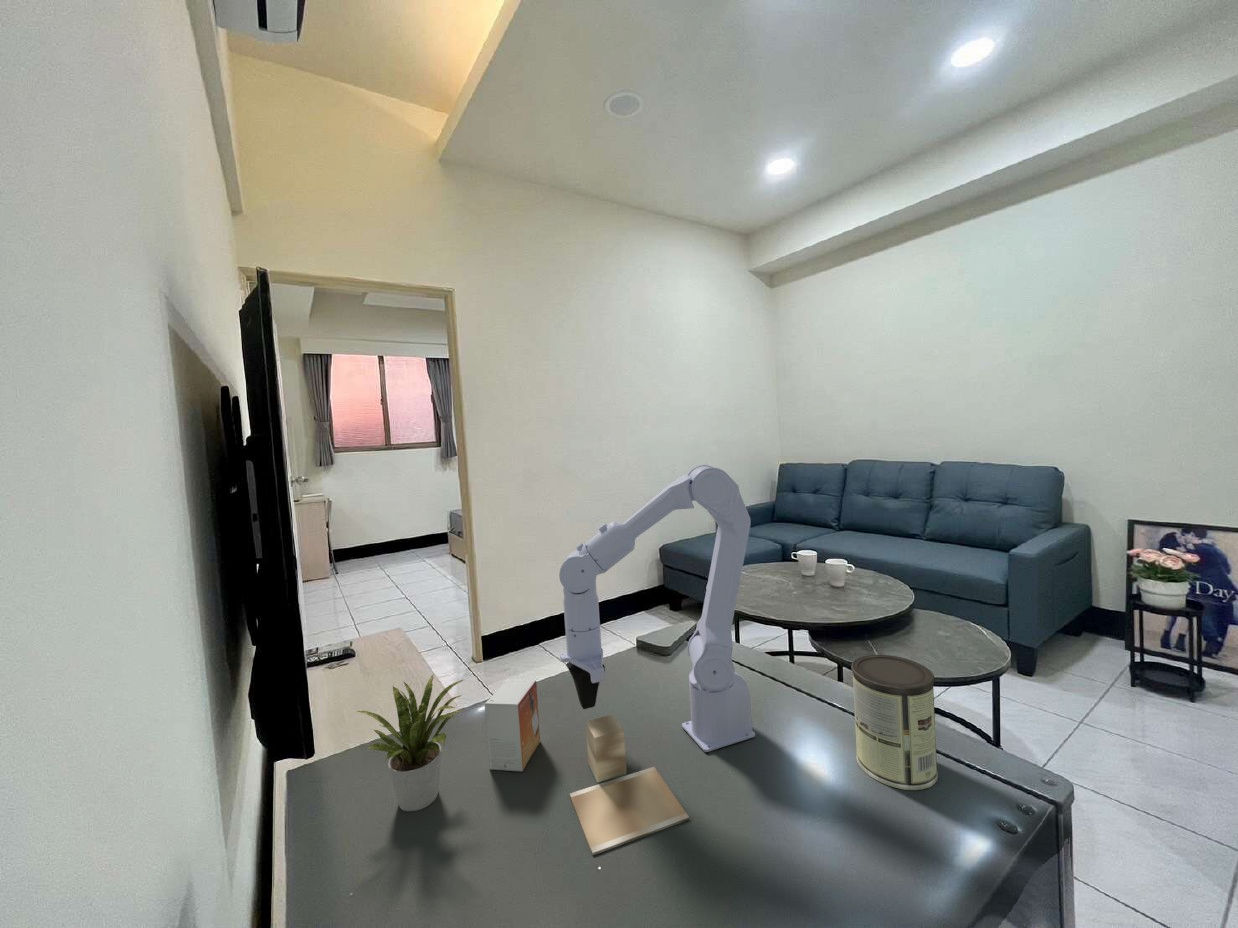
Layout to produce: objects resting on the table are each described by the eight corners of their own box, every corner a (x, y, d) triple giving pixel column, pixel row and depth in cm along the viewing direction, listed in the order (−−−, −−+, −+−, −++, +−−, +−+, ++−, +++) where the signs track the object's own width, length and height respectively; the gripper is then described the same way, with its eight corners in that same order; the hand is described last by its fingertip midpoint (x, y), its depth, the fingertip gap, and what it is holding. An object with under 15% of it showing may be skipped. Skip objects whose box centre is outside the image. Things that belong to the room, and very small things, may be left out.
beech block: (616, 758, 75) (613, 714, 75) (626, 776, 71) (623, 729, 71) (588, 766, 74) (585, 721, 73) (597, 785, 70) (594, 737, 69)
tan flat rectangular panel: (654, 768, 72) (654, 766, 72) (689, 819, 62) (689, 817, 62) (569, 795, 68) (569, 793, 68) (592, 855, 58) (592, 852, 58)
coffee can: (867, 735, 77) (863, 648, 76) (944, 761, 70) (941, 665, 69) (845, 769, 70) (841, 673, 69) (929, 802, 62) (925, 695, 62)
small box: (522, 773, 73) (517, 705, 73) (488, 770, 74) (483, 703, 74) (541, 740, 81) (537, 679, 81) (510, 738, 82) (505, 677, 82)
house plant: (498, 772, 74) (491, 667, 73) (436, 846, 60) (426, 718, 60) (422, 758, 78) (414, 658, 78) (349, 823, 65) (339, 704, 64)
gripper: (549, 615, 85) (554, 691, 86) (570, 646, 72) (576, 736, 72) (587, 608, 88) (592, 682, 88) (615, 637, 74) (620, 723, 75)
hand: (588, 705), depth 80 cm, fingers closed
